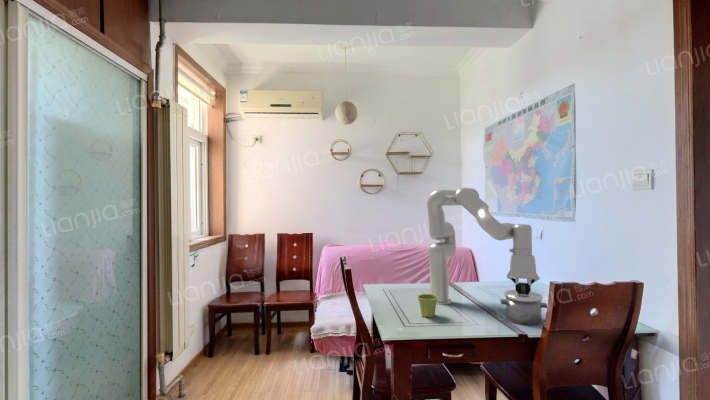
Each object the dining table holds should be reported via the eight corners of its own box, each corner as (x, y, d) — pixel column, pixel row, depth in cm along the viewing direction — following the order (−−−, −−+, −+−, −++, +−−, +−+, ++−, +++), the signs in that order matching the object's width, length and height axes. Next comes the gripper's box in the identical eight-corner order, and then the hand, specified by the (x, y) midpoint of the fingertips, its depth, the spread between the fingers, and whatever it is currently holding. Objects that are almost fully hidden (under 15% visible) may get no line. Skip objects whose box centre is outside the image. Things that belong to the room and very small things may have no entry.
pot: (502, 323, 143) (502, 302, 143) (499, 312, 156) (499, 293, 156) (550, 328, 137) (550, 306, 137) (543, 317, 150) (543, 297, 150)
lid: (506, 300, 142) (506, 286, 142) (503, 291, 156) (503, 278, 156) (545, 303, 137) (545, 288, 137) (538, 294, 151) (538, 280, 151)
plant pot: (426, 320, 147) (426, 300, 147) (413, 314, 156) (413, 295, 156) (442, 316, 152) (442, 297, 152) (429, 311, 160) (428, 293, 160)
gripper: (503, 252, 146) (503, 294, 146) (545, 254, 140) (545, 297, 140) (501, 250, 153) (502, 289, 153) (541, 251, 148) (542, 292, 147)
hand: (523, 293), depth 147 cm, fingers closed on lid, 3 cm apart
